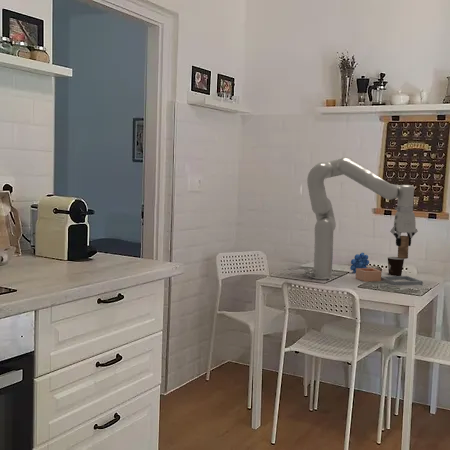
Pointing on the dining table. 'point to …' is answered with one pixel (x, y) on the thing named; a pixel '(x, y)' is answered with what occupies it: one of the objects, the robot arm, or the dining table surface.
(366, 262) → the grapes
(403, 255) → the tan upright block
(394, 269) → the coffee mug
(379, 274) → the orange block with hole
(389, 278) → the tray
